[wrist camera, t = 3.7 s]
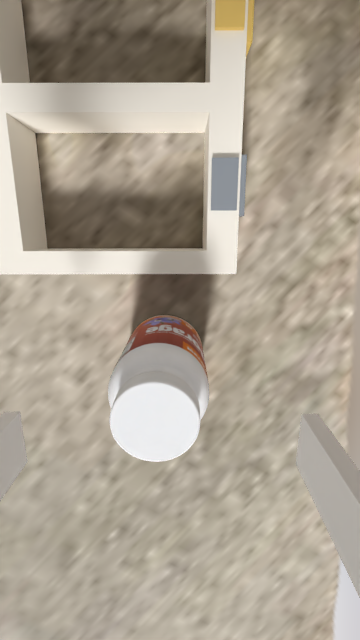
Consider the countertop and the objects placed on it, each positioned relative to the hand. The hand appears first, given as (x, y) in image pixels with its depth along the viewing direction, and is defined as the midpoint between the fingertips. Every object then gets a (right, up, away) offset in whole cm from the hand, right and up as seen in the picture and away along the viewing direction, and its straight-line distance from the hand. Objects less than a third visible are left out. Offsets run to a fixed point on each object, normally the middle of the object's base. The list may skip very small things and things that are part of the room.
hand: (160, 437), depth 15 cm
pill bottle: (0, +3, +12) cm, 13 cm away
